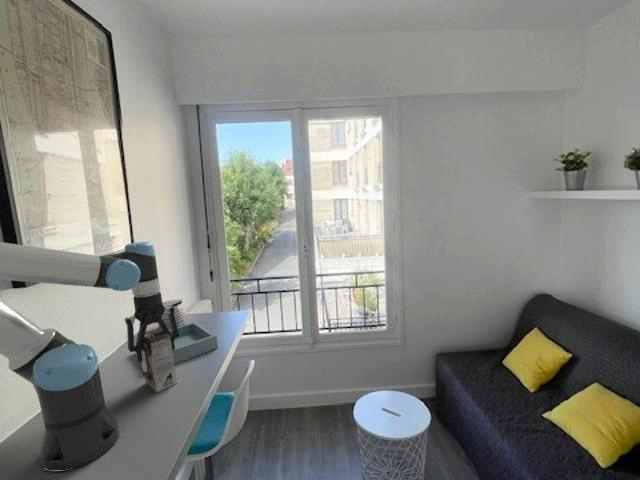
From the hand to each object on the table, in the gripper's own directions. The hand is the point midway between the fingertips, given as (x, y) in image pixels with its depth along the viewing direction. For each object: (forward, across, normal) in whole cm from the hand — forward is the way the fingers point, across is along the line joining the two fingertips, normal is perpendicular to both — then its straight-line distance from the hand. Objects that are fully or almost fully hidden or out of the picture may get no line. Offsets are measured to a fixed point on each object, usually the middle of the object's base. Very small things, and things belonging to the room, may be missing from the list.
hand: (158, 365), depth 107 cm
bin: (+6, -12, -21) cm, 25 cm away
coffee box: (+6, 0, 0) cm, 6 cm away
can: (+6, -18, -48) cm, 52 cm away
